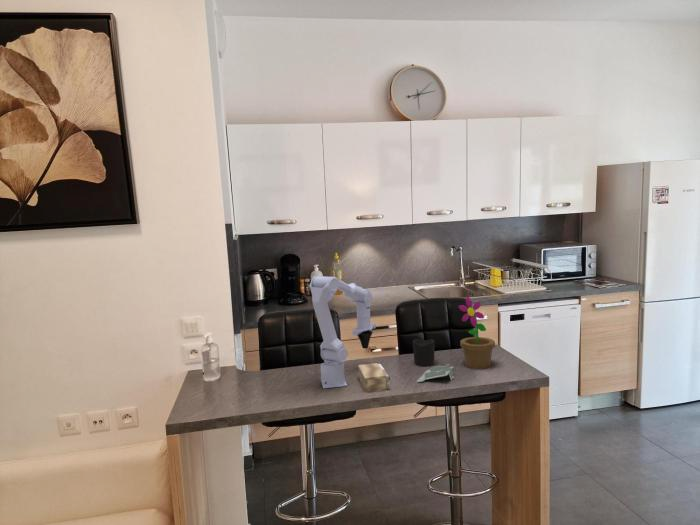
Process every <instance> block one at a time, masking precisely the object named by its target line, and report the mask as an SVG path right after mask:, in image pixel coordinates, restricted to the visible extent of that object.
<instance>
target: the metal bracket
mask: <svg viewBox="0 0 700 525" xmlns="http://www.w3.org/2000/svg"><path fill="white" fill-rule="evenodd" d="M453 368H454V366H451V365H450V363H449V364H448V363H447V364H445V365H436V366H432V367H430V368H429V369H427V370H426V371H425V372H423V374H422V375H421V376H420V377H419V378H418V379H417V380H416V381H417V382H416V381H415V383H423V382H425V380H426V381H427V380H430V379H436V378H443V377H446V376H449V378H450V381H451V382H452V381H453V380H452V379H455V378H456V377H455V376H454V374H453Z"/></svg>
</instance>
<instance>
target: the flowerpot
mask: <svg viewBox="0 0 700 525" xmlns="http://www.w3.org/2000/svg"><path fill="white" fill-rule="evenodd" d="M465 304H466V305H463V304H460V305H458V309H459V310H460V311H462V312H464V313H465V312H467V313H465V314H463V316H462V318H461V321H462V322H467V320H469V319H470V324H471V325H472V326H473V327H475V329H470V330H468V331H467V333H468V334H470V335H473V337H471V336H470V337H465V338H462V339H461V340H459V343H460V344H459V345H460V348H462V349H463V356H464V362H465V365H466V367H468V368H471V369H486V368H489V367H490V366H491V365H492V354H493V349H494V348H495V347H496V342H495V340H494V339H492V338H488V337H481V336H479V331H480V332H485V331H487V328H486V326H485V325H484V324H482V323H480V322H479V323H478V319H481V320H482V319H484V318H485V314H483V313H482V312H480V311H475V310H478V309H479V308H481V304H482V303H481V301H477V302H475V303H474V304H473V302H472V300H471V298H470V297H469V296H467V297H466V298H465Z"/></svg>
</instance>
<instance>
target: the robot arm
mask: <svg viewBox="0 0 700 525" xmlns="http://www.w3.org/2000/svg"><path fill="white" fill-rule="evenodd" d="M308 286H309V290H310V294H311V296H312V298H311V300H312V306H313V309H314V312H315V316H316V320H317V323H318V325H319V330H320V333H321V337H322V340H323V341H322V342H321V344H320V345H319V348H320V357H321V359H322V360H323V362H322V363H320V383H321V385H322V388H323V389H330V388H340V387H341V388H342V387H347V386H348V384H347V381H346V379H345V363H346V360H347V359H348V349H347V348H346V347H345V345H344V342H342V340H340V339H339V338H338V336H337V332H336V328H335V325H334V322H333V321H334V320H333V318H332V314H331V311H330V308H329V304H328V303H329V301H331V300H332V299H333V297H334V296H335V294H336V293H337V291H340V292H343V293H344V296H346V297H348V298H349V299H352V300H353V302H354V303H356V304H355V306H356V322H357V324H356V325H357V326H356V328H354V330H352V336H356V337H357V338H358V339H359V341H360V344H361V347H362V349H365V350H366V349H368V348H369V344H370V341H371V340H370V339H371V337H372V335H373V329H376V327H377V326H376V323H372V322H371V306H372V299H373V295H372V294H373V293H372V292H371V291H370V290H369V289H364V288H363V287H362V286H358V285H357V283H354V282H351V283H348V284H347V283H346V282H345V281H343V280H341V279H340V278H339V277H336V276H325V275H324V276H322V275H314V276H313V277H312V278H311V281H310V283H309V285H308Z"/></svg>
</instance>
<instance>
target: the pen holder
mask: <svg viewBox="0 0 700 525" xmlns="http://www.w3.org/2000/svg"><path fill="white" fill-rule="evenodd" d="M412 348H413V349H412V350H413V360H414V362H413V363H414V364H415V365H416V366H418V365H420V366H419V367H429V366H433V365H434V364H435V340H434V339H431V338H430V339H426V340H425V339H422V338H415V339H413V340H412Z"/></svg>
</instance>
